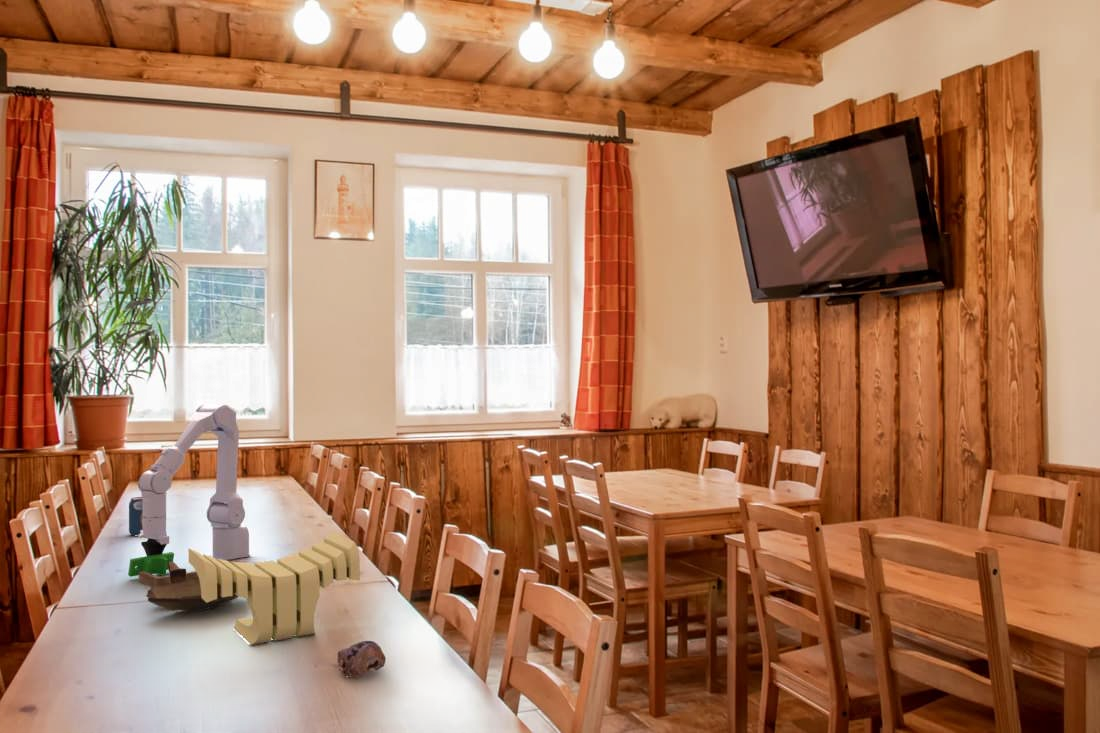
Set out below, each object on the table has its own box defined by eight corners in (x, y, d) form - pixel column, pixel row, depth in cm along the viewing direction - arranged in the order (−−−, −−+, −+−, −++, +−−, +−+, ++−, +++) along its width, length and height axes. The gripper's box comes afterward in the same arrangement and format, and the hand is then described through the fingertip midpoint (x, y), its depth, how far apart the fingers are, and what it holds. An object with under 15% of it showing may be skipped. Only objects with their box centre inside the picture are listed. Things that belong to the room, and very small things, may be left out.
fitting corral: (209, 569, 237) (209, 560, 237) (228, 576, 230) (228, 566, 230) (139, 581, 224) (138, 571, 224) (156, 589, 216) (156, 578, 216)
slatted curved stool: (206, 657, 165) (206, 562, 165) (189, 636, 178) (188, 548, 178) (360, 630, 181) (359, 543, 181) (333, 612, 194) (332, 532, 194)
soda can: (146, 536, 285) (145, 499, 285) (124, 536, 285) (124, 499, 285) (156, 532, 292) (156, 496, 292) (135, 532, 292) (135, 496, 292)
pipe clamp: (134, 581, 225) (136, 565, 224) (127, 575, 227) (130, 559, 226) (176, 573, 233) (179, 557, 233) (169, 567, 236) (172, 551, 235)
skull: (327, 666, 160) (327, 632, 160) (368, 658, 164) (367, 625, 164) (349, 686, 150) (349, 650, 150) (392, 677, 154) (392, 642, 154)
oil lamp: (142, 628, 184) (142, 591, 184) (149, 594, 212) (149, 562, 212) (255, 617, 192) (255, 581, 192) (248, 585, 220) (247, 555, 220)
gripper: (128, 515, 235) (128, 566, 235) (149, 521, 225) (149, 574, 225) (155, 512, 240) (155, 562, 240) (177, 518, 230) (177, 570, 230)
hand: (154, 568), depth 232 cm, fingers closed, pressing on pipe clamp
